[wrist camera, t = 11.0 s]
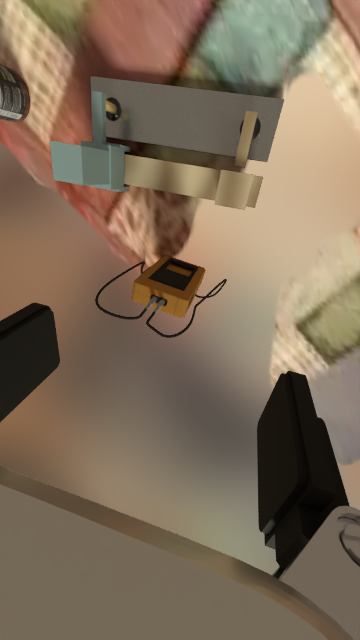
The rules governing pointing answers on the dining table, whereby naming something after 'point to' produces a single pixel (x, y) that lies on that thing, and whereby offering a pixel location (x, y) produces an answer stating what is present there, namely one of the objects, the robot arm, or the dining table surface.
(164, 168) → the trammel rail
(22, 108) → the supplement bottle
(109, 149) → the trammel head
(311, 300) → the dining table surface
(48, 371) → the robot arm
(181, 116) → the flange plate
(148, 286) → the multimeter
